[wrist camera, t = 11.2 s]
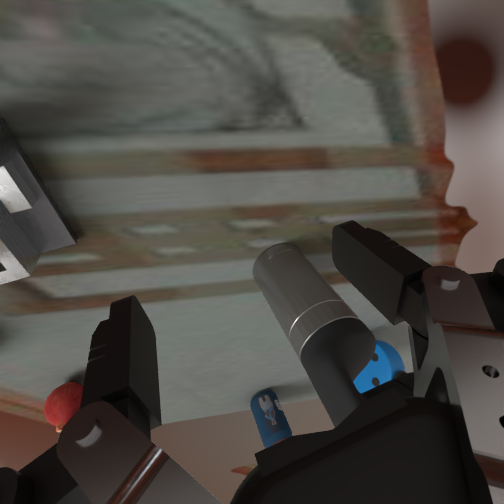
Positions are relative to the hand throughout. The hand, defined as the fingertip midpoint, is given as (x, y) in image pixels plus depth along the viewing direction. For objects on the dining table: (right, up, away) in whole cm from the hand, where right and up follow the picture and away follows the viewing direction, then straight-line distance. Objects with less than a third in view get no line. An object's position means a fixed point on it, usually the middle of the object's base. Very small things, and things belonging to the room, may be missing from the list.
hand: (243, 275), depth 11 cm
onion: (-30, -21, +36) cm, 52 cm away
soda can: (+3, -36, +60) cm, 70 cm away
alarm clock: (+27, -24, +62) cm, 72 cm away
